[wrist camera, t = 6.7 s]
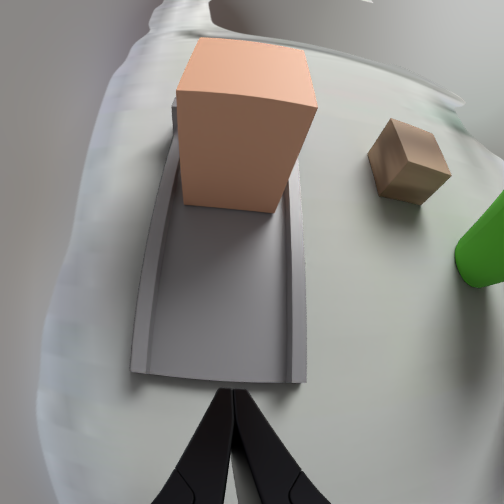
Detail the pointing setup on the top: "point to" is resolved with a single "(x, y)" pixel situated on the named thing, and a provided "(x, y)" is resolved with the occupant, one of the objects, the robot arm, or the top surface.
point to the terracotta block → (242, 122)
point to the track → (221, 288)
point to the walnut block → (407, 163)
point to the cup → (483, 248)
